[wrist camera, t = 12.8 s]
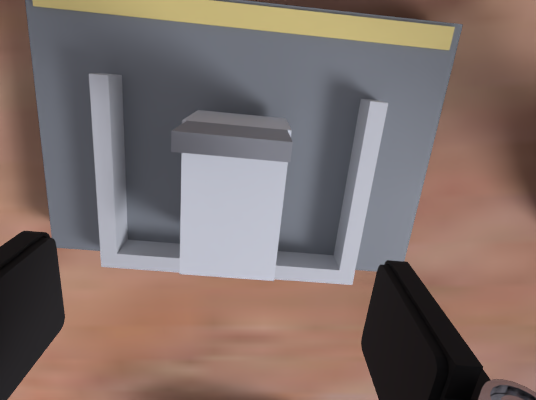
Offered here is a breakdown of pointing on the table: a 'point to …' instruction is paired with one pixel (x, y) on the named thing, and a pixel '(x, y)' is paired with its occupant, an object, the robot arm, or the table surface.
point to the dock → (239, 102)
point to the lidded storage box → (231, 193)
